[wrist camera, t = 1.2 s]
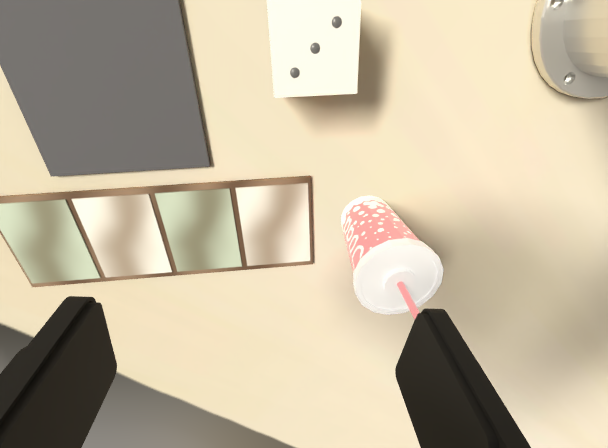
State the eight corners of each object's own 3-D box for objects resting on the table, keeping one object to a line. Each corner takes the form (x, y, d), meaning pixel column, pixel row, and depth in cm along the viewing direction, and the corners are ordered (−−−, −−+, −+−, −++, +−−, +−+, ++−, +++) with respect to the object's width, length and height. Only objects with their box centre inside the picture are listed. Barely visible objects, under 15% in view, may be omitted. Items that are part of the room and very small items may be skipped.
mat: (175, -23, 20) (173, -24, 19) (210, 164, 26) (209, 166, 25) (-32, -17, 19) (-38, -18, 19) (54, 174, 25) (51, 176, 25)
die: (343, -1, 21) (362, -11, 17) (341, 85, 24) (357, 95, 19) (267, 2, 21) (266, -8, 17) (273, 88, 24) (274, 100, 19)
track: (310, 175, 27) (310, 177, 27) (312, 262, 32) (312, 264, 31) (-17, 197, 25) (-22, 199, 25) (34, 285, 30) (31, 287, 30)
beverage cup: (356, 175, 27) (424, 284, 15) (411, 204, 29) (510, 321, 17) (320, 231, 30) (353, 362, 18) (373, 254, 32) (436, 387, 20)
